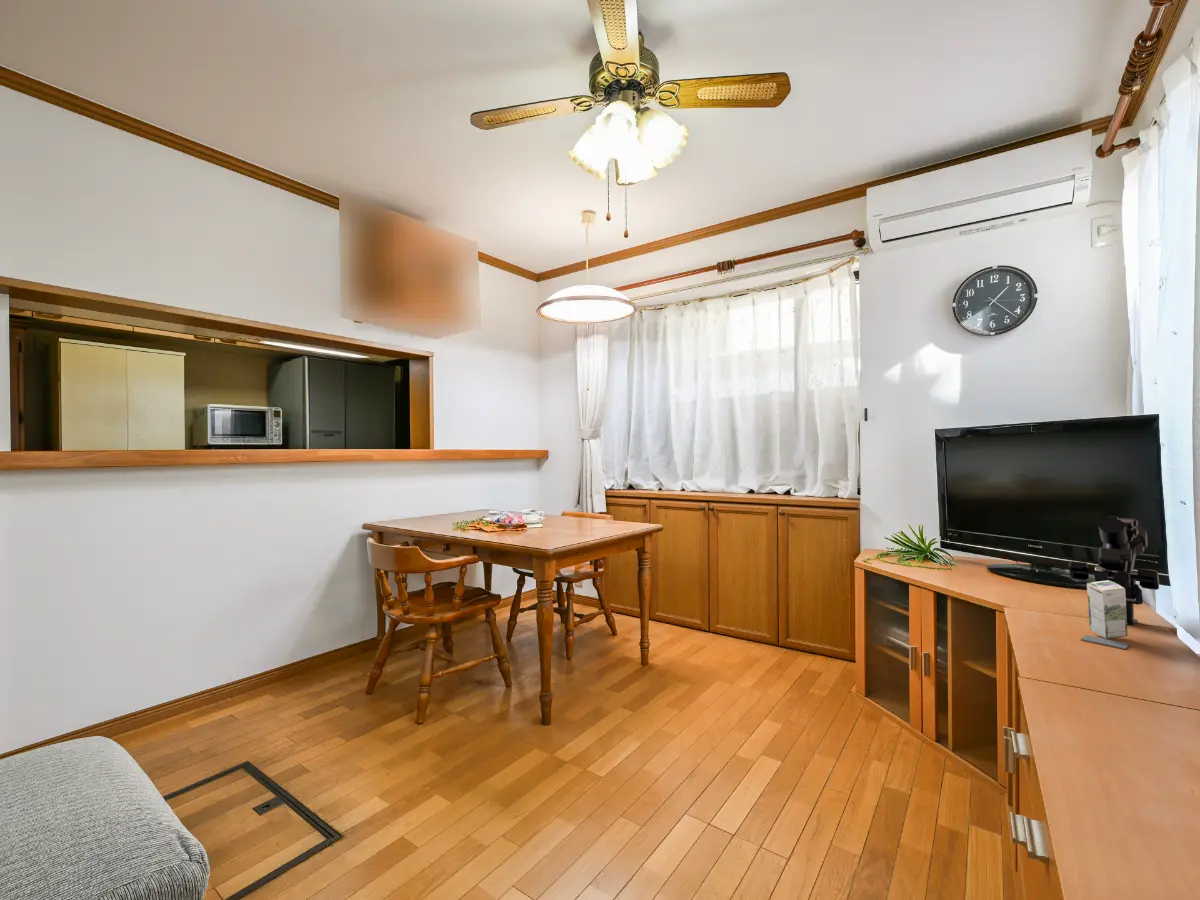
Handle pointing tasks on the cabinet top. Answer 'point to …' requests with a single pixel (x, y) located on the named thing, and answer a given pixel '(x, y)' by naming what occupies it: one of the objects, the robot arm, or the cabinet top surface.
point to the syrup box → (1107, 609)
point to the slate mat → (1105, 641)
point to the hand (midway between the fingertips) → (1109, 598)
